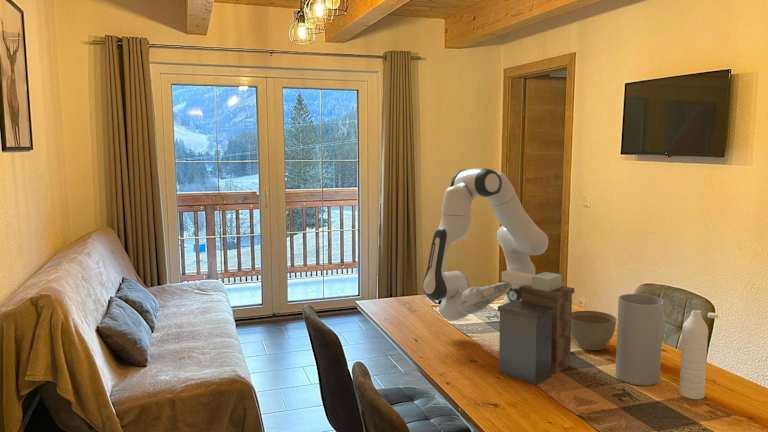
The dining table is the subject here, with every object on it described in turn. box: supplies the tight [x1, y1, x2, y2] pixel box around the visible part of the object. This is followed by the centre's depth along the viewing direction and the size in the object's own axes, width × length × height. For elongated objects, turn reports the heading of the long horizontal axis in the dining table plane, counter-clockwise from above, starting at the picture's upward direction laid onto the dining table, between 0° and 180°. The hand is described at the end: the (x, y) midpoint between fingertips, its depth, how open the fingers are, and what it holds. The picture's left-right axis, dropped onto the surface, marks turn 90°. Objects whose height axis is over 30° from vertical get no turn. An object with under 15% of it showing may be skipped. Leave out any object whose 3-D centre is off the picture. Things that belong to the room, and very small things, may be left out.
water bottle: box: [678, 309, 719, 400], centre depth 163 cm, size 9×6×25 cm
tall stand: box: [519, 285, 575, 375], centre depth 188 cm, size 10×14×26 cm
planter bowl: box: [571, 310, 618, 351], centre depth 204 cm, size 16×16×11 cm
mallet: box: [500, 269, 563, 292], centre depth 190 cm, size 8×19×4 cm, turn 44°
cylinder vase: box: [615, 293, 664, 386], centre depth 176 cm, size 12×12×25 cm
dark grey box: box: [497, 300, 555, 386], centre depth 180 cm, size 10×14×22 cm
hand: (502, 286), depth 198 cm, fingers open, 8 cm apart
